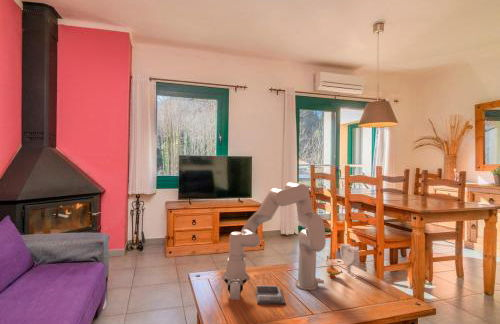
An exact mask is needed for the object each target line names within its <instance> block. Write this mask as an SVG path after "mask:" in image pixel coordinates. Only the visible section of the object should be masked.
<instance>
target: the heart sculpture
mask: <svg viewBox="0 0 500 324" xmlns="http://www.w3.org/2000/svg"><path fill="white" fill-rule="evenodd" d="M339 251H340V252H339V253H340V256H341V258H342V261H343V262H344V265H345V267H346V269H341V270H342V272H344V273H345V274H347V275H348V276H350V277H357V276H356V275H355V274H354V273H352V271H351V269H352V268H351V267H352V266H354V265H356V264H357V263H358V261H359V259H360V251H359V249H358V248H357V247H355V246H352V245H351V244H349V243H341V244H340V246H339ZM344 273H343V274H344ZM351 273H352V274H351ZM345 274H344V275H345ZM347 275H346V276H347ZM354 275H355V276H354ZM348 276H347V277H348Z"/></svg>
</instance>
